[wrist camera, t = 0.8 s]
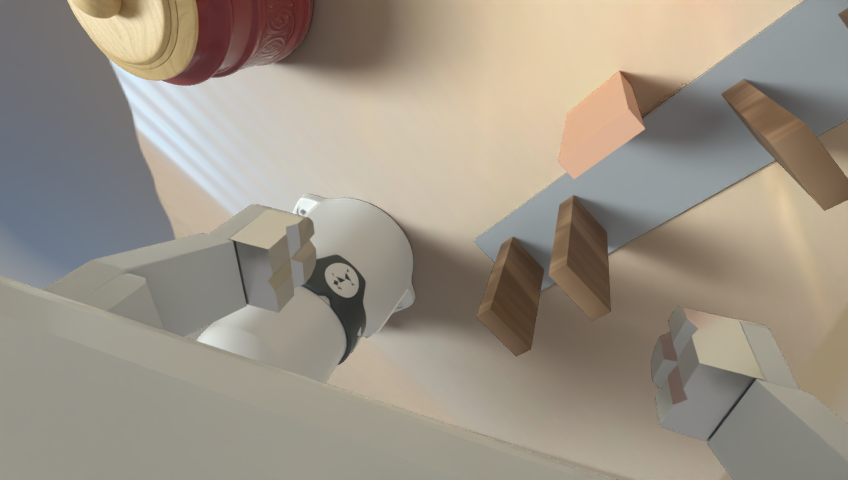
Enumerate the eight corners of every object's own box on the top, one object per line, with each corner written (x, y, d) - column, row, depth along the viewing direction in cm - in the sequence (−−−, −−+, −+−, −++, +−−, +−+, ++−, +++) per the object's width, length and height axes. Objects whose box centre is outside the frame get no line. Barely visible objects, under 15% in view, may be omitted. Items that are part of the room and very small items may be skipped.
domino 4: (758, 142, 34) (824, 210, 24) (720, 94, 33) (773, 144, 23) (781, 129, 33) (859, 194, 23) (743, 78, 32) (807, 125, 22)
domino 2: (631, 85, 35) (645, 128, 25) (579, 126, 38) (573, 179, 28) (618, 70, 35) (628, 108, 25) (567, 113, 38) (557, 161, 28)
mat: (529, 295, 49) (528, 298, 48) (474, 239, 47) (473, 241, 47) (963, 50, 28) (968, 51, 28) (889, -62, 27) (894, -63, 26)
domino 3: (592, 241, 42) (591, 320, 33) (559, 204, 42) (548, 275, 32) (607, 232, 41) (610, 311, 32) (573, 195, 41) (566, 264, 31)
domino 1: (532, 276, 47) (515, 356, 37) (501, 244, 46) (476, 317, 36) (544, 269, 46) (530, 349, 36) (512, 236, 45) (490, 308, 35)
